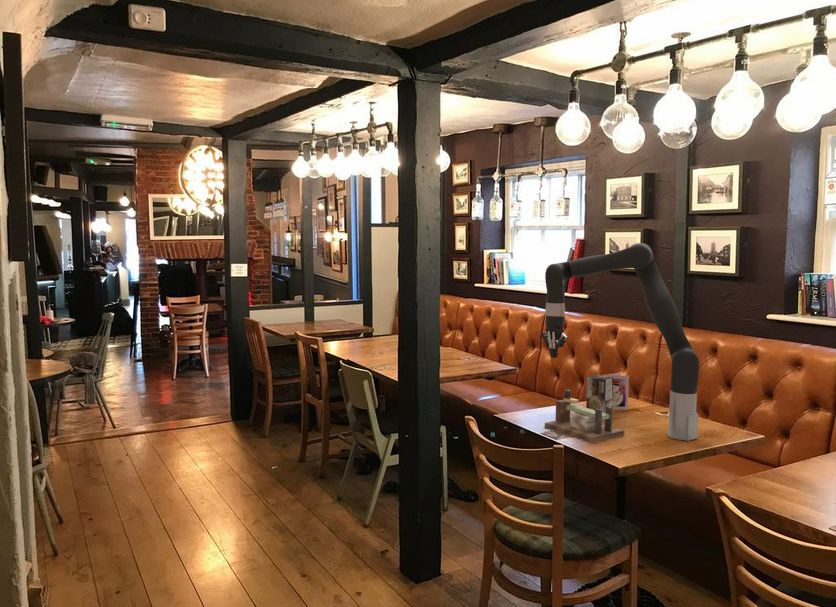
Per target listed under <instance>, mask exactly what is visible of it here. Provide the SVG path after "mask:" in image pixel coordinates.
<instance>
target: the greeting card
mask: <svg viewBox="0 0 836 607" xmlns="http://www.w3.org/2000/svg"><path fill="white" fill-rule="evenodd" d="M601 376H607V377H613V406H612V411H628V409H629V408H628V407H629V388H630V387H629V386H630V384H629V383H630V376H629V375H621V372H617V373H616V372H615V373H609V374H608V373H607V374H602V375H601Z"/></svg>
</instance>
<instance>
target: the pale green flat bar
mask: <svg viewBox="0 0 836 607" xmlns="http://www.w3.org/2000/svg"><path fill="white" fill-rule="evenodd" d="M567 410H570V412H573V413H576V412H577V413H580V414H583V415H587V416H590V417H593V418H595V410H592V409H588V408H586V407H584V406H581V405H577V404H574V403H572V404H571V405H568V406H567ZM605 419H609V414H606V413H602V421H605Z"/></svg>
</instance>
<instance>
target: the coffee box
mask: <svg viewBox="0 0 836 607" xmlns="http://www.w3.org/2000/svg"><path fill="white" fill-rule="evenodd" d="M585 406H586V407H585V408H588V409H592V410H595V409H601V410H602V413H605V407H607V406H608V407H612V406H613V377H607V376H602V375H601V374H600V375H599V374H591V375H589V376H586V405H585Z"/></svg>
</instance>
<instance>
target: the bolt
mask: <svg viewBox="0 0 836 607" xmlns="http://www.w3.org/2000/svg"><path fill="white" fill-rule="evenodd" d="M563 396H564V397H563V399H564V401H566V402H570V403H571V404H574V405H576V404H579V401H580V400H579V399H578V398H577V399H576V398H572V397H571V396H572V390H571V389H564V395H563Z"/></svg>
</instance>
